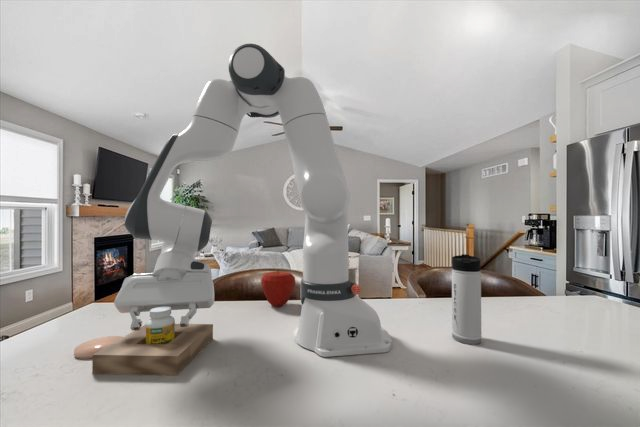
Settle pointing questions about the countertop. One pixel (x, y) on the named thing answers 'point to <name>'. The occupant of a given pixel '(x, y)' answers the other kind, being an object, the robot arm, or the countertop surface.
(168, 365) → the frame
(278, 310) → the countertop surface
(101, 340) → the peach round disc
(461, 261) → the travel mug
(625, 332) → the countertop surface
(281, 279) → the red tapered strawberry shape
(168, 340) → the supplement bottle
